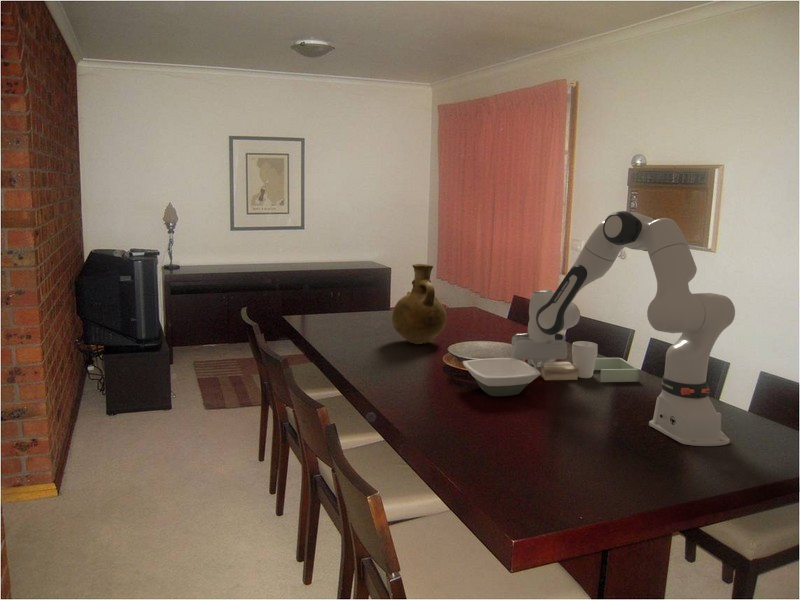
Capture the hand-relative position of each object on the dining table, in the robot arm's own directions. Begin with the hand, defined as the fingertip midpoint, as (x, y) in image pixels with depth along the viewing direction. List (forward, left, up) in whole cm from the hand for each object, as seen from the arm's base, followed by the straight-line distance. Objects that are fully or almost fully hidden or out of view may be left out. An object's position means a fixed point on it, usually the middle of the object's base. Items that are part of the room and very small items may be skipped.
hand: (537, 370), depth 230 cm
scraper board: (0, -7, -2) cm, 8 cm away
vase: (+51, +38, -2) cm, 64 cm away
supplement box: (+17, -7, -2) cm, 19 cm away
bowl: (-16, +18, -3) cm, 24 cm away
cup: (0, -17, -2) cm, 17 cm away
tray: (0, -28, -2) cm, 28 cm away
